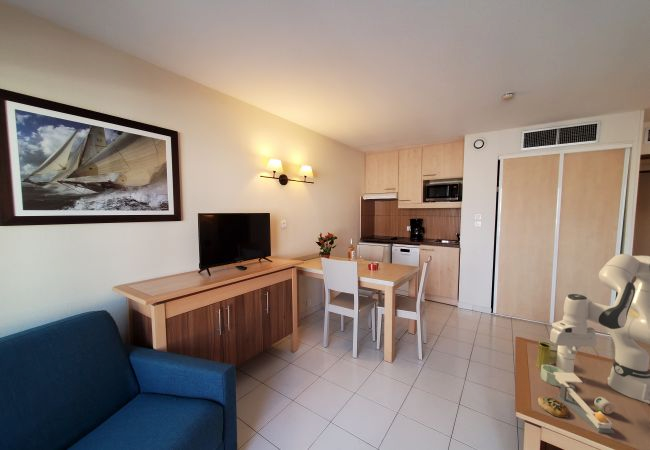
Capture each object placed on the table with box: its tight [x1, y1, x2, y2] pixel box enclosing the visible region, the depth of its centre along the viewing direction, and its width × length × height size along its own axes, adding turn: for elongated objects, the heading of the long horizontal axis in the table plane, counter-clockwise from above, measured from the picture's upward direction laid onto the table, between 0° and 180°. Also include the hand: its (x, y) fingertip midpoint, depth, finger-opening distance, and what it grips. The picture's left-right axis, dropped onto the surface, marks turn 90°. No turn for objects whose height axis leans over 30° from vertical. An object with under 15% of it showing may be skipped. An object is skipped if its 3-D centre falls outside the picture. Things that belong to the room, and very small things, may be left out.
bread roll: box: [537, 396, 570, 418], centre depth 118 cm, size 11×11×5 cm
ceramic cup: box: [538, 341, 558, 365], centre depth 156 cm, size 13×10×10 cm
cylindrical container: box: [555, 345, 576, 373], centre depth 142 cm, size 7×7×25 cm
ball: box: [595, 413, 608, 423], centre depth 107 cm, size 4×4×4 cm
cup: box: [540, 364, 565, 388], centre depth 137 cm, size 10×10×6 cm
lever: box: [553, 372, 614, 429], centre depth 118 cm, size 26×13×3 cm, turn 178°
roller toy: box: [593, 396, 615, 415], centre depth 117 cm, size 4×6×6 cm
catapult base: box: [555, 383, 614, 434], centre depth 115 cm, size 20×6×8 cm, turn 179°
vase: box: [535, 342, 551, 371], centre depth 148 cm, size 6×6×14 cm
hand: (572, 353), depth 127 cm, fingers closed
